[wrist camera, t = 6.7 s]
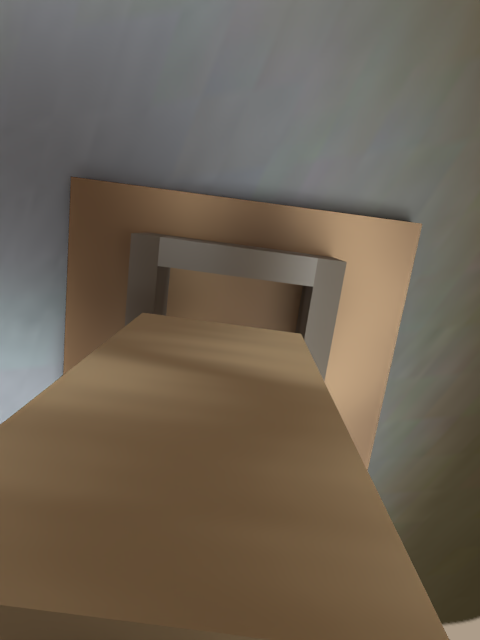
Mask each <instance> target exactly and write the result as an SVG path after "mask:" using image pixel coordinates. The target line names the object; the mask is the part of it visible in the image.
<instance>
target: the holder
mask: <svg viewBox="0 0 480 640" xmlns="http://www.w3.org/2000/svg"><path fill="white" fill-rule="evenodd" d="M421 227H422V224H420V223H413V222H405V221H398V220H390V219H383V218H375V217H368V216H360V215H353V214H346V213H338V212H331V211H323V210H316V209H308V208H301V207H293V206H286V205H278V204H271V203H264V202H256V201H249V200H241V199H234V198H226V197H219V196H211V195H204V194H197V193H189V192H182V191H174V190H167V189H159V188H152V187H144V186H137V185H129V184H122V183H115V182H107V181H100V180H92V179H85V178H77V177H71V187H70V213H69V239H68V265H67V292H66V318H65V344H64V370H63V375H64V374H65V373H67V372H68V371H69V370H70V369H72V368H73V367H74V366H76V365H77V364H78V363H79V362H81V361H82V360H83V359H84V358H86V357H87V356H88V355H90V354H91V353H92V352H93V351H95V350H96V349H97V348H98V347H100V346H101V345H102V344H103V343H105V342H106V341H107V340H109V339H110V338H111V337H112V336H114V335H115V334H116V333H117V332H119V331H120V330H121V329H123V328H124V327H125V326H126V325H128V324H129V323H130V322H131V321H133V320H134V319H135V318H136V317H138V316H139V315H140V314H142V313H149V314H157V315H164V316H172V317H179V318H187V319H194V320H202V321H209V322H217V323H224V324H232V325H239V326H247V327H254V328H262V329H269V330H277V331H284V332H292V333H299V334H301V335H302V337H303V339H304V341H305V343H306V345H307V347H308V349H309V351H310V353H311V355H312V357H313V360H314V362H315V364H316V366H317V368H318V370H319V372H320V374H321V376H322V378H323V380H324V382H325V384H326V386H327V388H328V391H329V393H330V395H331V397H332V399H333V401H334V403H335V405H336V407H337V409H338V411H339V413H340V415H341V417H342V419H343V422H344V424H345V426H346V428H347V430H348V432H349V434H350V436H351V438H352V440H353V442H354V444H355V446H356V448H357V450H358V452H359V455H360V457H361V459H362V461H363V463H364V465H365V467H366V469H367V470H368V466H369V461H370V457H371V452H372V448H373V443H374V439H375V434H376V430H377V425H378V421H379V416H380V412H381V407H382V403H383V398H384V394H385V389H386V385H387V380H388V376H389V371H390V367H391V362H392V358H393V353H394V349H395V344H396V340H397V335H398V331H399V326H400V322H401V317H402V313H403V308H404V304H405V299H406V295H407V290H408V286H409V281H410V277H411V272H412V268H413V263H414V259H415V254H416V250H417V245H418V241H419V236H420V232H421Z"/></svg>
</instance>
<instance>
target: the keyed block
mask: <svg viewBox="0 0 480 640" xmlns="http://www.w3.org/2000/svg"><path fill="white" fill-rule="evenodd" d="M0 640H449V638H448V636H447V634H446V632H445V630H444V628H443V626H442V624H441V622H440V620H439V618H438V616H437V614H436V612H435V609H434V607H433V605H432V603H431V601H430V599H429V597H428V595H427V593H426V591H425V589H424V587H423V585H422V583H421V581H420V578H419V576H418V574H417V572H416V570H415V568H414V566H413V564H412V562H411V560H410V558H409V556H408V554H407V552H406V550H405V548H404V545H403V543H402V541H401V539H400V537H399V535H398V533H397V531H396V529H395V527H394V525H393V523H392V521H391V519H390V517H389V514H388V512H387V510H386V508H385V506H384V504H383V502H382V500H381V498H380V496H379V494H378V492H377V490H376V488H375V486H374V483H373V481H372V479H371V477H370V475H369V473H368V471H367V469H366V467H365V465H364V463H363V461H362V459H361V457H360V455H359V452H358V450H357V448H356V446H355V444H354V442H353V440H352V438H351V436H350V434H349V432H348V430H347V428H346V426H345V424H344V422H343V419H342V417H341V415H340V413H339V411H338V409H337V407H336V405H335V403H334V401H333V399H332V397H331V395H330V393H329V391H328V388H327V386H326V384H325V382H324V380H323V378H322V376H321V374H320V372H319V370H318V368H317V366H316V364H315V362H314V360H313V357H312V355H311V353H310V351H309V349H308V347H307V345H306V343H305V341H304V339H303V337H302V335H301V334H299V333H292V332H284V331H277V330H269V329H262V328H254V327H247V326H239V325H232V324H224V323H217V322H209V321H202V320H194V319H187V318H179V317H172V316H164V315H157V314H149V313H142V314H140V315H139V316H138V317H136V318H135V319H134V320H133V321H131V322H130V323H129V324H128V325H126V326H125V327H124V328H123V329H121V330H120V331H119V332H117V333H116V334H115V335H114V336H112V337H111V338H110V339H109V340H107V341H106V342H105V343H103V344H102V345H101V346H100V347H98V348H97V349H96V350H95V351H93V352H92V353H91V354H90V355H88V356H87V357H86V358H84V359H83V360H82V361H81V362H79V363H78V364H77V365H76V366H74V367H73V368H72V369H70V370H69V371H68V372H67V373H65V374H64V375H63V376H62V377H60V378H59V379H58V380H57V381H55V382H54V383H53V384H51V385H50V386H49V387H48V388H46V389H45V390H44V391H43V392H41V393H40V394H39V395H37V396H36V397H35V398H34V399H32V400H31V401H30V402H29V403H27V404H26V405H25V406H24V407H22V408H21V409H20V410H18V411H17V412H16V413H15V414H13V415H12V416H11V417H10V418H8V419H7V420H6V421H4V422H3V423H2V424H1V425H0Z"/></svg>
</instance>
